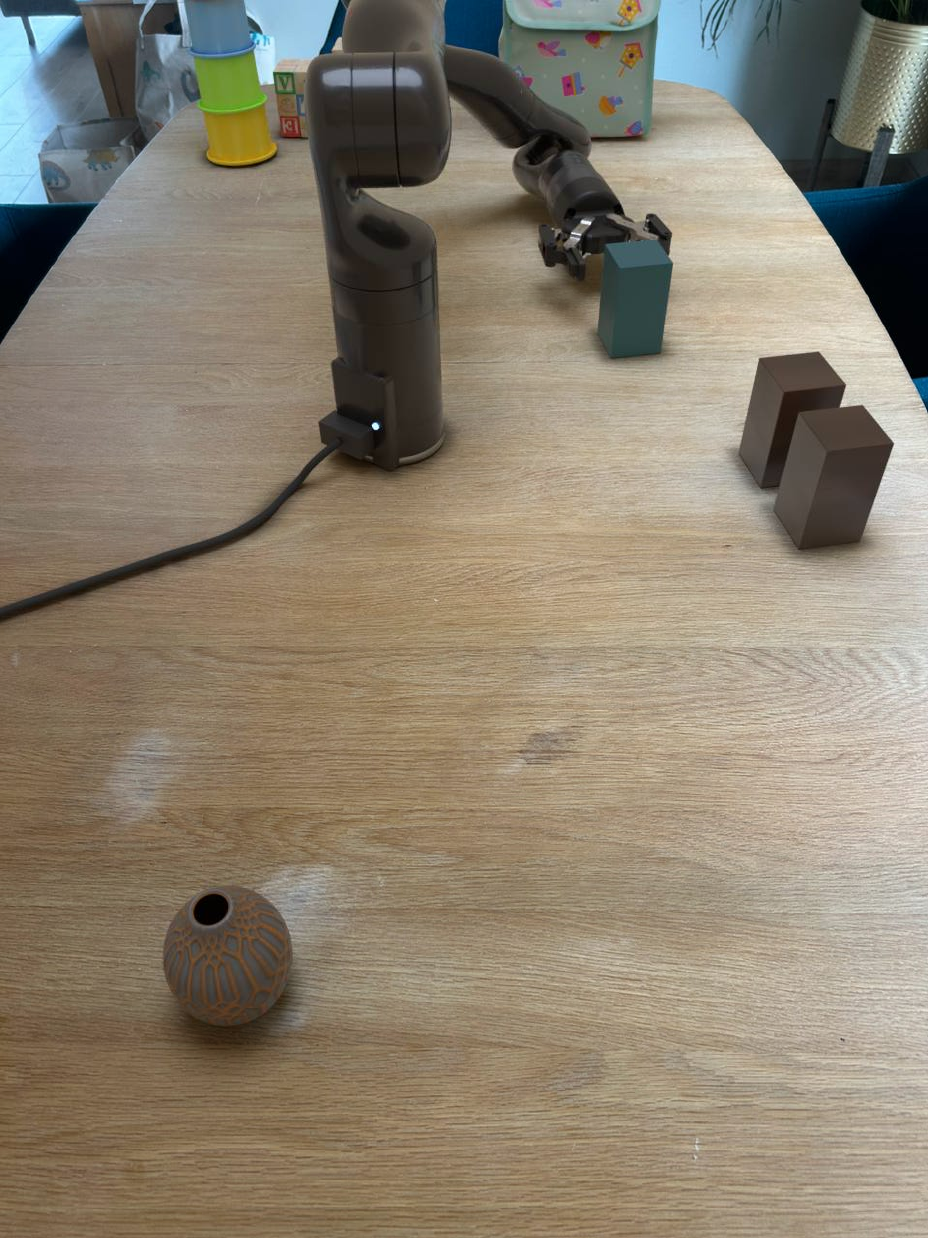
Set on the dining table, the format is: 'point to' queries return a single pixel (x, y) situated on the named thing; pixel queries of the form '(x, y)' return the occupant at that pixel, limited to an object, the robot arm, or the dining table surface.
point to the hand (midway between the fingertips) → (621, 269)
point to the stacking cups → (228, 82)
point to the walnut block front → (832, 476)
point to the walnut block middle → (784, 409)
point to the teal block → (634, 297)
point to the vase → (227, 955)
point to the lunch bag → (586, 58)
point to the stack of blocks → (293, 93)
